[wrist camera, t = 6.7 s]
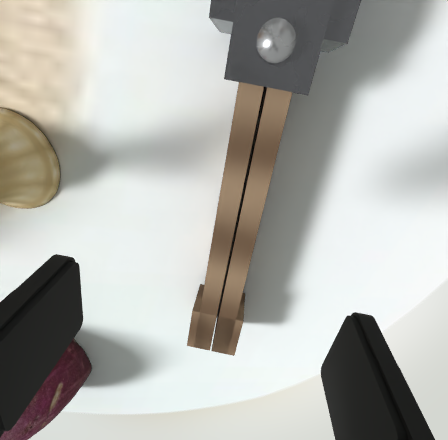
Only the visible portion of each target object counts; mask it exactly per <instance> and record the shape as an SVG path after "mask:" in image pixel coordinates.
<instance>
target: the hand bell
mask: <svg viewBox="0 0 448 440" xmlns="http://www.w3.org/2000/svg"><path fill="white" fill-rule="evenodd" d="M59 181H60V168H59V163H58V159H57V157H56V154H55V152H54V150H53V148H52V146H51V145H50V143H49V142H48V140H47V138H46V137H45V136H44V134H43V133H42V132H41V131H40V130H39V129H38V128H37V127H36V126H35V125H34V124H33V123H32V122H30V121H29V120H27V119H26V118H24V117H23V116H21V115H19V114H17V113H15V112H12V111H10V110H7V109H2V108H0V203H2V204H5V205H7V206H11V207H15V208H26V209H28V208H36V207H39V206H42V205H44V204H46V203H47V202H49V201H50V200H51V199H52V198H53V196H54V195H55V194H56V192H57V189H58V186H59Z"/></svg>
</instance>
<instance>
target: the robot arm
mask: <svg viewBox="0 0 448 440" xmlns="http://www.w3.org/2000/svg"><path fill="white" fill-rule="evenodd" d="M82 322H83V311H82V297H81V284H80V270H79V264H78V263H76V262H75V259H74V258H72V257H68V256H62V255H57V254H56V255H53V256H52V257H51V258H50V259H49V260H48V261H46V262H45V263H44V264H43V265H42V266H41V267H40V268H39V269H38V270H37V271H35V272H34V273H33V274H32V275H31V276H30V277H29V278H28V279H27V280H26V281H24V282H23V283H22V284H21V285H20V286H19V287H18V288H17V289H16V290H14V291H13V292H11V293H10V294H9V295H8V296H7V297H6V298H5V299H3V300H2V301H1V302H0V437H1V436H2V435H3V433H4V432H5V431H9V430H11V429H12V428H13V427H14V425H15V424H16V423H17V421H18V420H19V418H20V417H21V415H22V414H23V412H24V411H25V409H26V408H27V406H28V405H29V404H30V402H31V401H32V399H33V398H34V396H35V395H36V393H37V392H38V390H39V389H40V387H41V386H42V384H43V383H44V381H45V380H46V378H47V377H48V375H49V374H50V373H51V371H52V370H53V368H54V367H55V365H56V364H57V362H58V361H59V359H60V358H61V356H62V355H63V353H64V352H65V350H66V349H67V347H68V346H69V344H70V343H71V342H72V340H73V339H74V337H75V336H76V334H77V333H78V331H79V330H80V328H81V326H82ZM321 378H322V382H323V386H324V391H325V395H326V400H327V404H328V409H329V413H330V418H331V422H332V427H333V431H334V436H335V440H435V439H434V437H433V435H432V433H431V430H430V429H429V426H428V424H427V422H426V421H425V418H424V416H423V414H422V412H421V410H420V409H419V406H418V404H417V402H416V400H415V398H414V396H413V394H412V392H411V390H410V388H409V386H408V384H407V382H406V380H405V378H404V376H403V374H402V372H401V370H400V368H399V367H398V365H397V363H396V361H395V359H394V357H393V355H392V353H391V351H390V349H389V347H388V345H387V343H386V341H385V339H384V337H383V335H382V333H381V331H380V329H379V327H378V325H377V323H376V321H375V319H374V317H373V316H371V315H366V314H361V313H353V314H352V315H351V316H347V317H346V318H345V320H344V322H343V324H342V326H341V328H340V330H339V332H338V334H337V336H336V338H335V340H334V342H333V344H332V346H331V348H330V350H329V352H328V354H327V356H326V358H325V360H324V362H323V364H322V367H321Z"/></svg>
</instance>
